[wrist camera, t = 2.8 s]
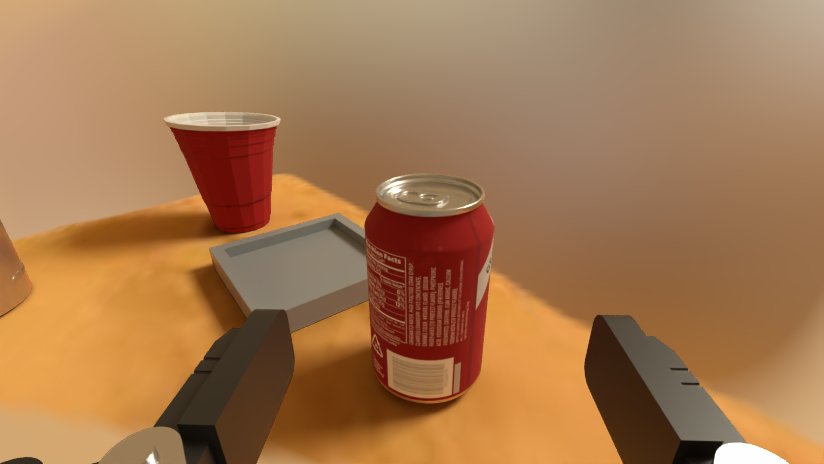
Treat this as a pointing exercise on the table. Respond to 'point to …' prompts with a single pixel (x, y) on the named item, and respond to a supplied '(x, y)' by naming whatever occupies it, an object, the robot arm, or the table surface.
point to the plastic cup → (230, 164)
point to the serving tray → (297, 269)
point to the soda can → (428, 284)
